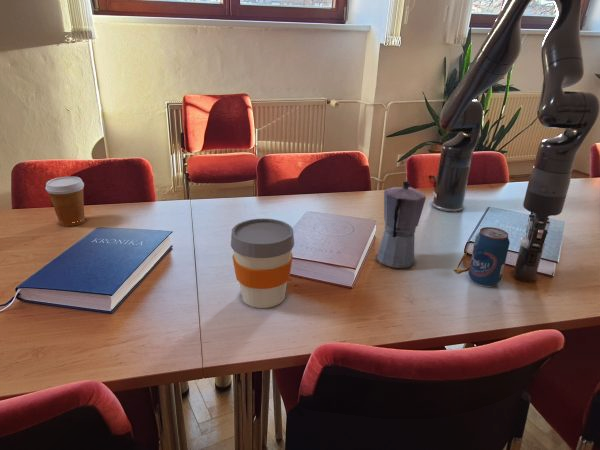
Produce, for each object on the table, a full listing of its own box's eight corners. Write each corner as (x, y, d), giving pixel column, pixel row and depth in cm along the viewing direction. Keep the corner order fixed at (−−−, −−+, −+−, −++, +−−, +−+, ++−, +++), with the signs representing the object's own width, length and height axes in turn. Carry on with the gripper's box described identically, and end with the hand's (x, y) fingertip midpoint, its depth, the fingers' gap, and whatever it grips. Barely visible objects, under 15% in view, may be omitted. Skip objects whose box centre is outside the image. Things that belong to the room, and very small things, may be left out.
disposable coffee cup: (45, 225, 122) (35, 184, 117) (73, 213, 130) (65, 174, 125) (71, 231, 119) (62, 189, 114) (98, 218, 127) (91, 178, 122)
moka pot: (418, 251, 113) (430, 176, 105) (412, 280, 99) (424, 197, 91) (381, 245, 115) (389, 171, 107) (370, 273, 102) (378, 191, 94)
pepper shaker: (512, 269, 105) (521, 235, 101) (534, 274, 103) (544, 239, 100) (512, 279, 101) (521, 243, 97) (535, 283, 99) (545, 248, 96)
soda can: (462, 280, 100) (471, 232, 95) (474, 269, 105) (484, 223, 100) (492, 292, 96) (504, 242, 91) (504, 280, 100) (516, 232, 96)
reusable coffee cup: (270, 320, 85) (270, 251, 79) (220, 300, 91) (216, 233, 85) (304, 291, 94) (306, 227, 88) (257, 274, 100) (256, 213, 94)
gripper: (571, 203, 86) (549, 278, 93) (563, 182, 98) (544, 250, 105) (528, 197, 89) (510, 270, 96) (526, 177, 101) (510, 244, 108)
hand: (528, 259), depth 100 cm, fingers closed on pepper shaker, 4 cm apart
